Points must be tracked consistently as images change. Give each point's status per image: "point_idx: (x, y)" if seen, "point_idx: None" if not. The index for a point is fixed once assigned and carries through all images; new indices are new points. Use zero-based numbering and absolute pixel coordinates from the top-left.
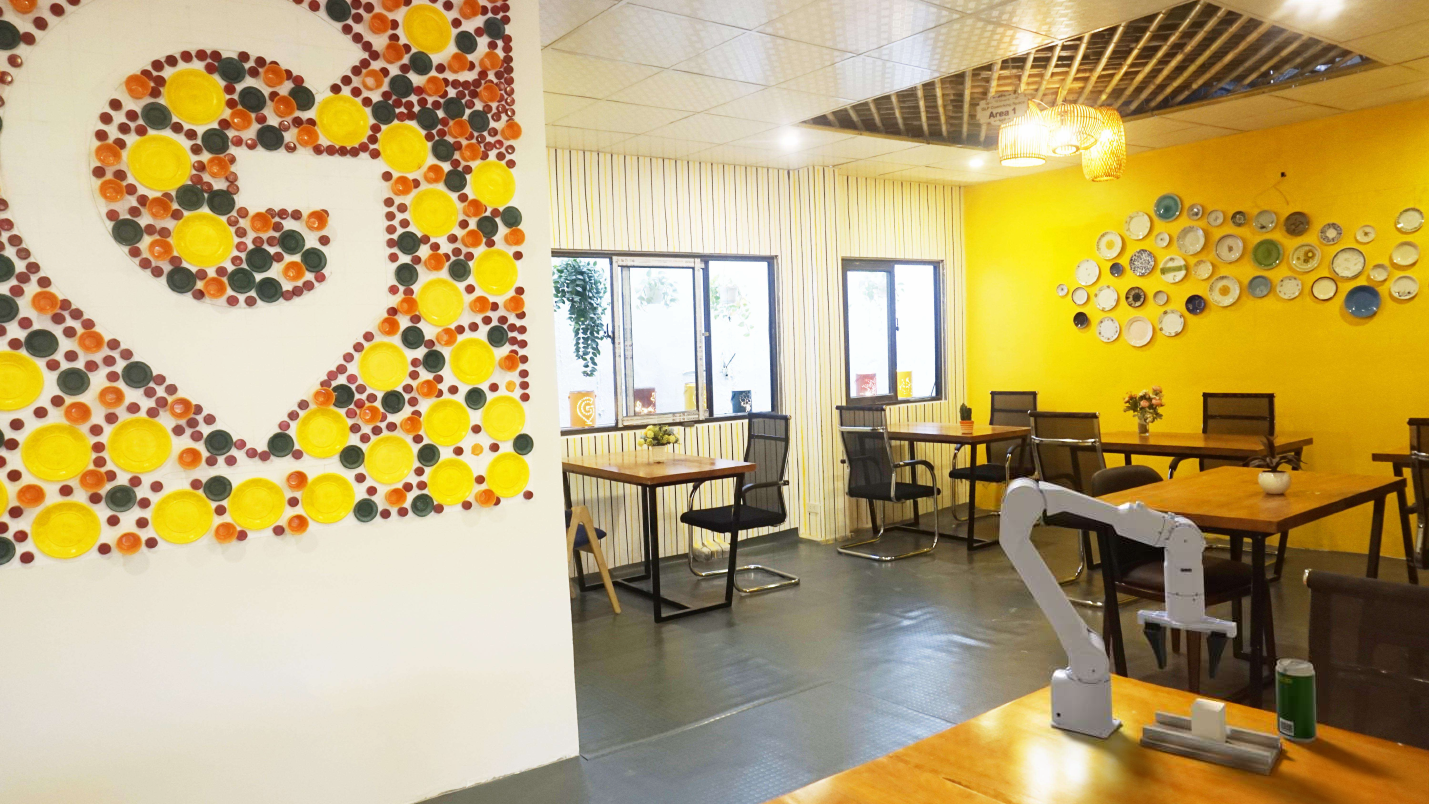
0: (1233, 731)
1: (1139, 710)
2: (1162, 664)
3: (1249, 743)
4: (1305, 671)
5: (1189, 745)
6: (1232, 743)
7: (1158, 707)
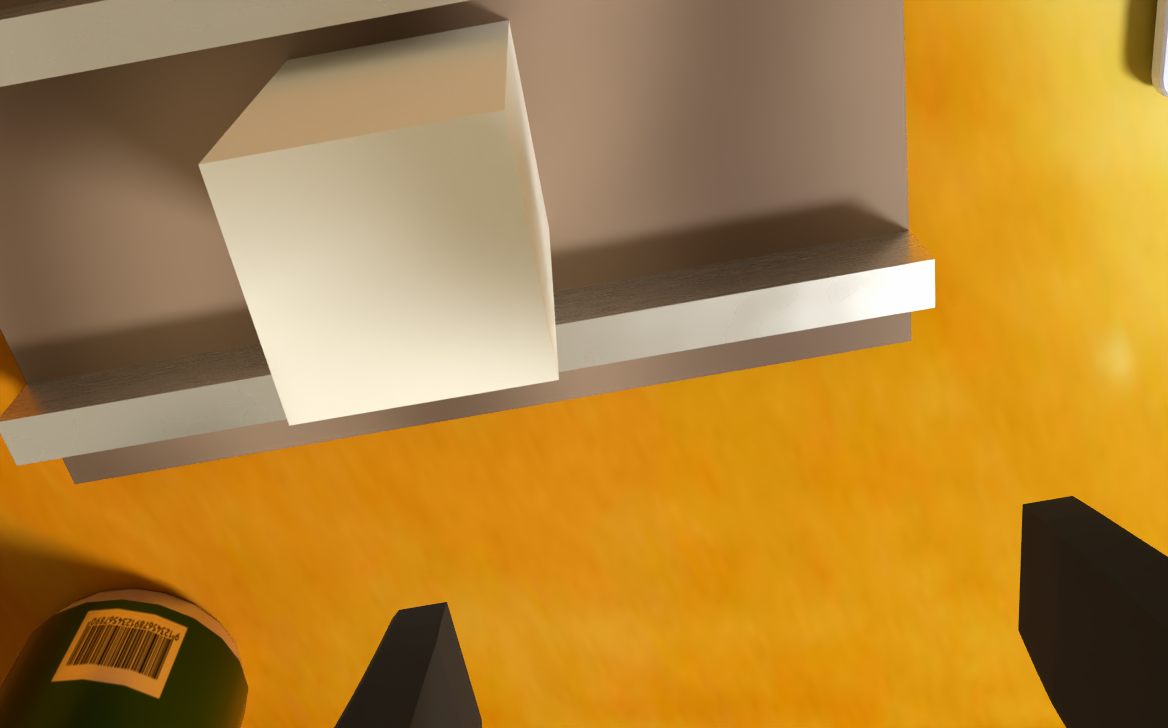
0: None
1: (1085, 402)
2: (1059, 537)
3: (200, 317)
4: None
5: None
6: None
7: (984, 526)
